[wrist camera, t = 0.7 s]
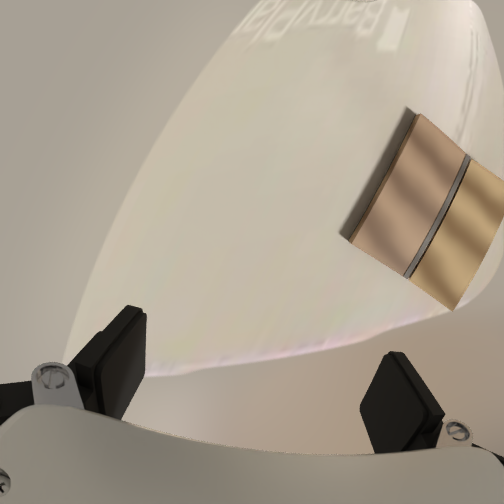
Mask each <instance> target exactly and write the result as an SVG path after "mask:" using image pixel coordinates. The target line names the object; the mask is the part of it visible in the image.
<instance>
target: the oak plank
mask: <svg viewBox="0 0 504 504" xmlns="http://www.w3.org/2000/svg"><path fill="white" fill-rule="evenodd" d="M503 216H504V181H503V180H501V179H500V178H499V177H497V176H496V175H494V174H493V173H492V172H490V171H489V170H487V169H486V168H484V167H483V166H481V165H480V164H478V163H477V162H475V161H474V160H471V161H470V163H469V165H468V168H467V170H466V172H465V175H464V177H463V179H462V181H461V184H460V186H459V188H458V190H457V192H456V194H455V196H454V199H453V201H452V203H451V205H450V207H449V209H448V211H447V213H446V215H445V217H444V219H443V221H442V223H441V225H440V226H439V228H438V230H437V232H436V234H435V236H434V238H433V239H432V241H431V243H430V245H429V247H428V248H427V250H426V252H425V254H424V255H423V257H422V259H421V260H420V262H419V264H418V265H417V267H416V269H415V270H414V272H413V274H412V275H411V277H410V279H409V281H411V282H412V283H414V284H415V285H416V286H418V287H419V288H421V289H422V290H423V291H425V292H426V293H428V294H429V295H430V296H432V297H433V298H435V299H436V300H437V301H439V302H440V303H441V304H443V305H444V306H446V307H447V308H448V309H450V310H451V311H453V310H454V309H455V307H456V305H457V304H458V302H459V301H460V299H461V297H462V296H463V294H464V292H465V291H466V289H467V287H468V286H469V284H470V282H471V281H472V279H473V277H474V275H475V273H476V272H477V270H478V268H479V266H480V264H481V262H482V261H483V259H484V257H485V255H486V253H487V251H488V249H489V247H490V245H491V243H492V241H493V239H494V236H495V234H496V232H497V230H498V228H499V226H500V223H501V221H502V219H503Z"/></svg>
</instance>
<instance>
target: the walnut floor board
mask: <svg viewBox="0 0 504 504" xmlns="http://www.w3.org/2000/svg"><path fill="white" fill-rule="evenodd" d="M469 159H470V157H469V156H468V155H467V154H466V153H465V152H464V151H463V150H462V149H461V148H460V147H459V146H457V145H456V144H455V143H454V142H453V141H452V140H451V139H450V138H449V137H448V136H447V135H446V134H444V133H443V132H442V131H441V130H440V129H439V128H438V127H436V126H435V125H434V124H433V123H432V122H431V121H429V120H428V119H427V118H426V117H424V116H423V115H422V114H418V115H416V116H415V118H414V120H413V122H412V124H411V126H410V128H409V130H408V132H407V134H406V136H405V138H404V140H403V142H402V144H401V146H400V148H399V150H398V152H397V154H396V156H395V158H394V160H393V162H392V164H391V166H390V168H389V170H388V172H387V174H386V175H385V177H384V179H383V181H382V183H381V185H380V187H379V188H378V190H377V192H376V194H375V196H374V198H373V199H372V201H371V203H370V205H369V206H368V208H367V210H366V212H365V214H364V215H363V217H362V219H361V221H360V222H359V224H358V226H357V227H356V229H355V231H354V233H353V234H352V236H351V238H350V239H349V242H350V243H351V244H353V245H354V246H356V247H357V248H359V249H361V250H362V251H364V252H366V253H367V254H369V255H370V256H372V257H374V258H375V259H377V260H378V261H380V262H381V263H383V264H385V265H386V266H388V267H389V268H391V269H392V270H394V271H396V272H397V273H399V274H400V275H402V276H403V277H405V278H406V279H408V278H409V276H410V274H411V273H412V271H413V269H414V268H415V266H416V264H417V263H418V261H419V259H420V258H421V256H422V254H423V253H424V251H425V249H426V247H427V245H428V244H429V242H430V240H431V238H432V236H433V235H434V233H435V231H436V229H437V227H438V225H439V223H440V222H441V220H442V218H443V216H444V214H445V212H446V210H447V208H448V206H449V204H450V202H451V200H452V197H453V195H454V193H455V191H456V189H457V187H458V185H459V182H460V180H461V178H462V176H463V173H464V171H465V169H466V166H467V164H468V162H469Z"/></svg>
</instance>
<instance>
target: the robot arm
mask: <svg viewBox="0 0 504 504" xmlns="http://www.w3.org/2000/svg"><path fill="white" fill-rule="evenodd" d="M353 1H359V2H368V1H375V0H353ZM146 322H147V315H146V313H143V310H142V308H138V307H134V306H131V305H127V306H126V307H125V308H124V309H123V310H122V311H121V312H120V313H119V314H118V315H117V316H116V317H115V318H114V319H113V320H112V321H111V323H110V324H109V325H108V326H107V327H106V328H105V329H104V330H103V331H99V332H98V333H97V334H96V335H95V336H94V337H93V338H92V339H91V340H90V341H89V342H88V343H87V344H86V346H85V347H84V348H83V349H82V350H81V351H80V352H79V353H78V354H77V355H76V356H75V358H74V359H73V360H72V361H71V362H70V363H69V364H68V365H67V366H66V365H64V364H61V363H57V362H49V363H43V364H41V365H39V366H38V367H36V368H35V369H34V371H33V372H32V376H31V380H32V381H25V382H17V383H8V384H0V504H504V457H502V456H499V455H497V454H495V453H493V452H490V451H488V450H486V449H484V448H482V447H480V446H477V445H475V444H473V443H472V440H473V433H472V431H471V429H470V428H469V427H468V426H467V425H466V424H465V423H463V422H461V421H459V420H456V419H450V420H447V421H445V422H444V423H443V422H442V419H443V417H444V416H445V413H444V411H443V410H442V408H441V407H440V405H439V404H438V402H437V401H436V399H435V398H434V396H433V395H432V393H431V392H430V390H429V389H428V387H427V386H426V384H425V383H424V381H423V380H422V378H421V377H420V376H419V374H418V373H417V371H416V370H415V368H414V367H413V365H412V364H411V363H410V361H409V360H408V358H407V357H406V356H405V354H404V353H402V352H393V351H390V352H389V353H388V354H386V355H384V357H383V359H382V361H381V363H380V365H379V367H378V370H377V372H376V374H375V376H374V378H373V380H372V382H371V384H370V386H369V388H368V390H367V392H366V394H365V396H364V398H363V400H362V402H361V404H360V413H361V416H362V419H363V421H364V424H365V427H366V430H367V432H368V435H369V438H370V441H371V444H372V446H373V449H374V452H375V454H357V455H324V454H323V455H322V454H299V453H298V454H297V453H284V452H272V451H263V450H255V449H246V448H239V447H233V446H226V445H220V444H215V443H209V442H204V441H199V440H194V439H189V438H185V437H181V436H177V435H172V434H168V433H165V432H161V431H157V430H153V429H150V428H146V427H142V426H139V425H135V424H132V423H128V422H125V421H122V420H121V419H122V417H123V415H124V413H125V411H126V409H127V407H128V405H129V404H130V402H131V399H132V398H133V396H134V394H135V392H136V390H137V388H138V387H139V385H140V383H141V381H142V379H143V377H144V374H145V350H146Z"/></svg>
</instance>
